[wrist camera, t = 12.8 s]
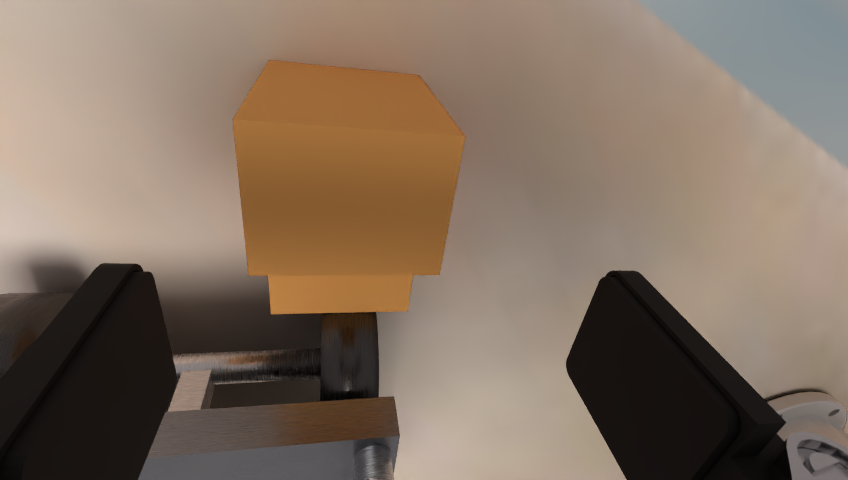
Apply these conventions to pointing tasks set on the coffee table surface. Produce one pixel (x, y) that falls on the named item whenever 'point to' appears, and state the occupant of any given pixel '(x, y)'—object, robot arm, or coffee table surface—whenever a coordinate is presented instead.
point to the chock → (344, 185)
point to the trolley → (256, 425)
